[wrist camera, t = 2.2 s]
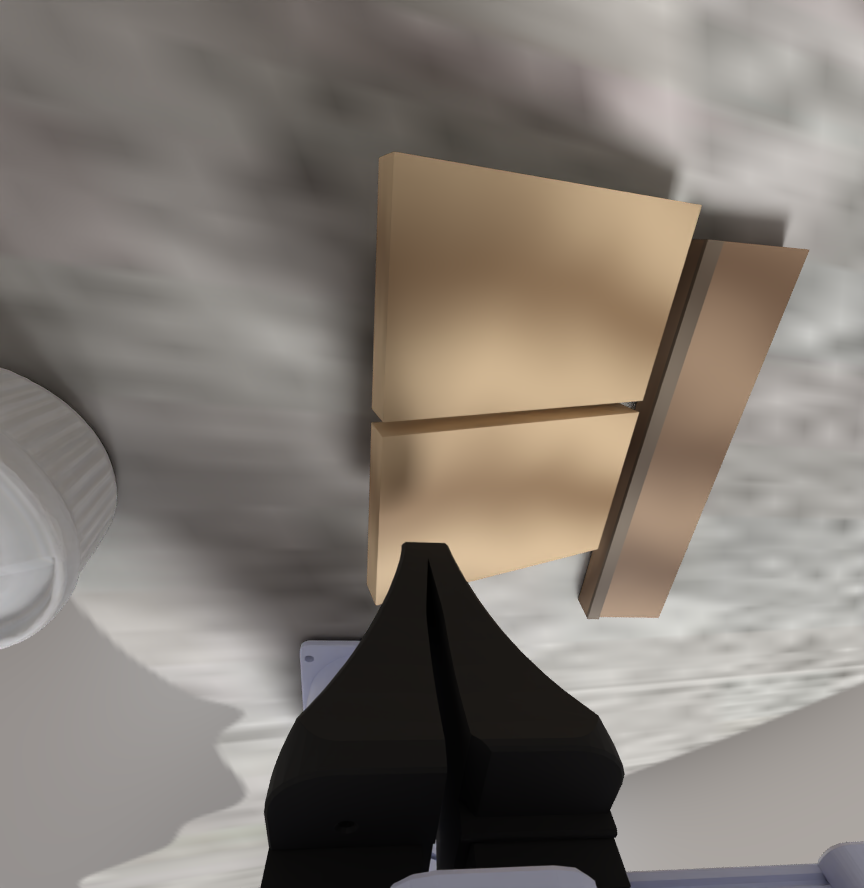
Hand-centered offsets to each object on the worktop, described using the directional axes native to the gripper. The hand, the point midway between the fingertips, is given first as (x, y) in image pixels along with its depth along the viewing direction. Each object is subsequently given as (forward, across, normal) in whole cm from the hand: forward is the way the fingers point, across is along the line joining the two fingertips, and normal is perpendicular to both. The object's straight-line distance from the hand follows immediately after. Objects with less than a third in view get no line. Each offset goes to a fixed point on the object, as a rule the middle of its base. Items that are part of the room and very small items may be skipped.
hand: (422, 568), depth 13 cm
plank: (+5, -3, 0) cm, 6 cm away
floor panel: (+7, -12, -1) cm, 14 cm away
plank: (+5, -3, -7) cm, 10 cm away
